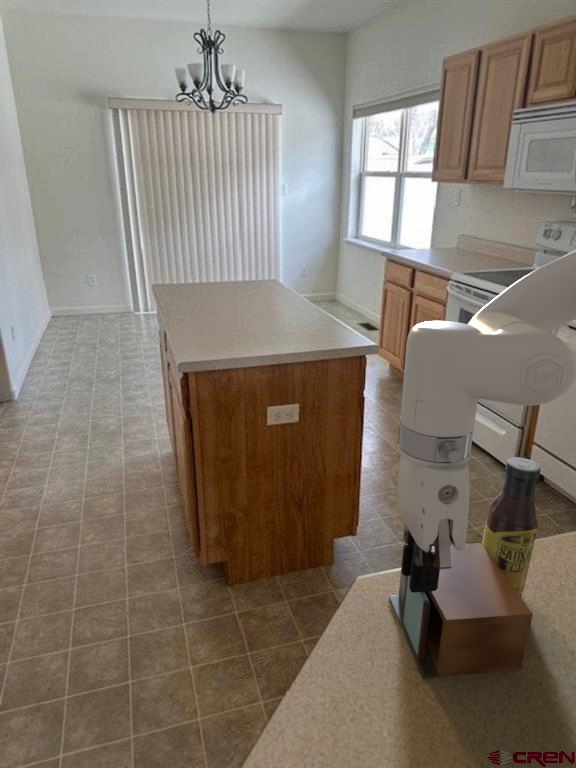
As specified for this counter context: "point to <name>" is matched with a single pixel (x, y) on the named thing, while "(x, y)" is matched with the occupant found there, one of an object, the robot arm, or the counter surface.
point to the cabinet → (470, 618)
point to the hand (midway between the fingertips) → (418, 580)
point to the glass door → (416, 615)
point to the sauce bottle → (513, 522)
